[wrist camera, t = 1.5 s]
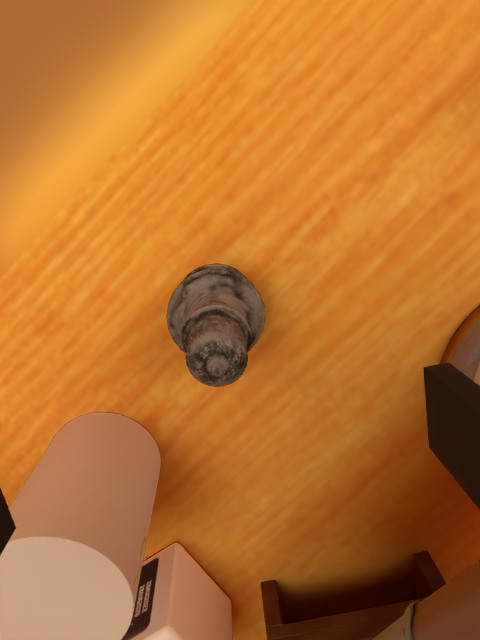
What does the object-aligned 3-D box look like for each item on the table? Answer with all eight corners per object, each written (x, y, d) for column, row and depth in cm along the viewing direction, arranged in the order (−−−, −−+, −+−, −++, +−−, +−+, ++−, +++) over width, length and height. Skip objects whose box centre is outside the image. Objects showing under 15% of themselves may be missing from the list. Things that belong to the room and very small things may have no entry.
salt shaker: (184, 248, 30) (165, 288, 18) (270, 273, 30) (305, 327, 19) (162, 331, 31) (132, 418, 20) (245, 353, 32) (262, 449, 20)
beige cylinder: (95, 526, 35) (37, 691, 24) (24, 449, 33) (-77, 591, 22) (182, 473, 34) (166, 619, 23) (116, 391, 32) (61, 507, 21)
